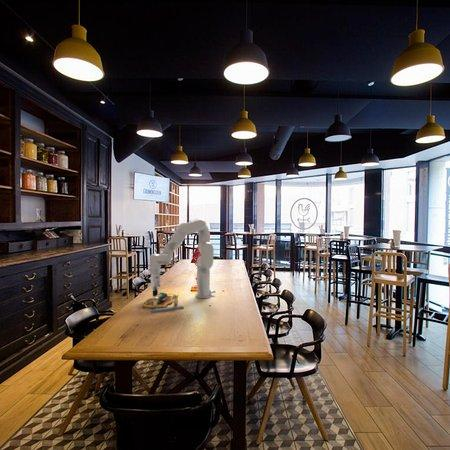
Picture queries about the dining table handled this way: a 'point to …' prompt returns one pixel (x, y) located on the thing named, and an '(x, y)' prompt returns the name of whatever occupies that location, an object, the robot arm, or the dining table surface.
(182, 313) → the dining table surface
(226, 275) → the dining table surface
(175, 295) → the post
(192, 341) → the dining table surface
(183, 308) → the wall strip
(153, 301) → the post
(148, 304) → the decorative plaque
